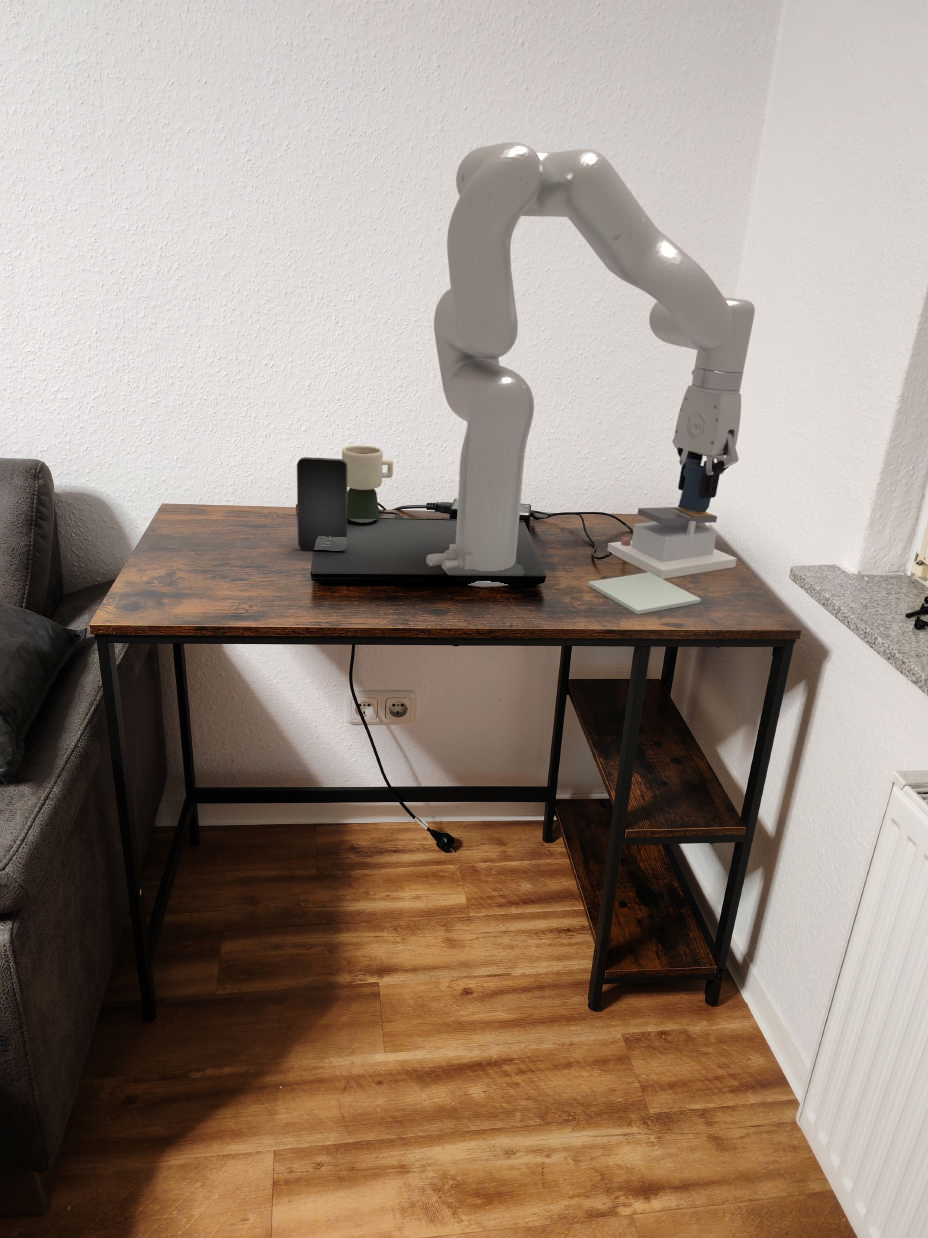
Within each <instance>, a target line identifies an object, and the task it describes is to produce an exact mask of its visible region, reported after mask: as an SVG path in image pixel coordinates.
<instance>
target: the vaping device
mask: <svg viewBox="0 0 928 1238" xmlns="http://www.w3.org/2000/svg"><path fill="white" fill-rule="evenodd" d="M703 457H704V455H700V454H697V453H694V452H691V451H689V454H688V458H687V463H686V466H685V470H684V474H683V475H684V476H685V481H684V485H683V489H682V490H681V494H680V499H679V503H678V505H677V507H679V508H683V509H687V510H693V511H698V512H707V511H708V509H709V508H710V503H711V500H712V498H704V499H702V498H700V497H699V492H700V487H701V481H702V476H703V474H707V473H706V460H704V461H703ZM702 461H703V465H702ZM716 463H717V461H714V464H716Z"/></svg>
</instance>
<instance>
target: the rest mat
mask: <svg viewBox="0 0 928 1238" xmlns="http://www.w3.org/2000/svg"><path fill="white" fill-rule="evenodd" d="M587 586H588V587H589V588H591V589H593V590H595V591H596V592H599V593H600V594H602V595H603V596H605V597H607V598H608V599H610V600H612V601H614V602H615V603H617V604H619V605H620V606H622V607H624V608H626V609H627V610H629V611H631V612H633V613H635V614H636V615H642V614H648V613H652V612H656V611H663V610H668V609H674V608H679V607H684V606H690V605H691V606H692V605H695V604H700V603H701V601H702V599H701V598H700V597H698V596H696V595H695V594H693V593H690V592H688V591H686V590H685V589H683V588H680V587H679V586H677V585H674V584H673V583H671V582H669V581H667V580H666V579H661V578H659V577H657V576H655V575H653V574H651V573H649V572H642V573H636V574H629V575H624V576H617V577H611V578H604V579H598V580H597V579H596V580H590V581H588V582H587Z"/></svg>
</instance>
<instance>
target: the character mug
mask: <svg viewBox="0 0 928 1238" xmlns="http://www.w3.org/2000/svg"><path fill="white" fill-rule="evenodd" d="M383 454H384V450H383V449H382V448H380V447H377V446H371V445H362V444H361V445H360V444H357V445H349V446H348V445H347V446H344V447H343V448H342V451H341V459H343V460H344V461H345V462H346V463H347V466H348V476H347V488H348V489H347V518H351V519H378V518H380V514H379V503H378V496H377V495H378V494H377V492H376V489H377V488H379V487H381V485H382V484H383V483H382V482H383V479H390V478H393V475H394V461H393V460H392V459H383V458H384V457H383ZM383 466H387V470H386V472H383ZM378 520H379V519H378Z"/></svg>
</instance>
